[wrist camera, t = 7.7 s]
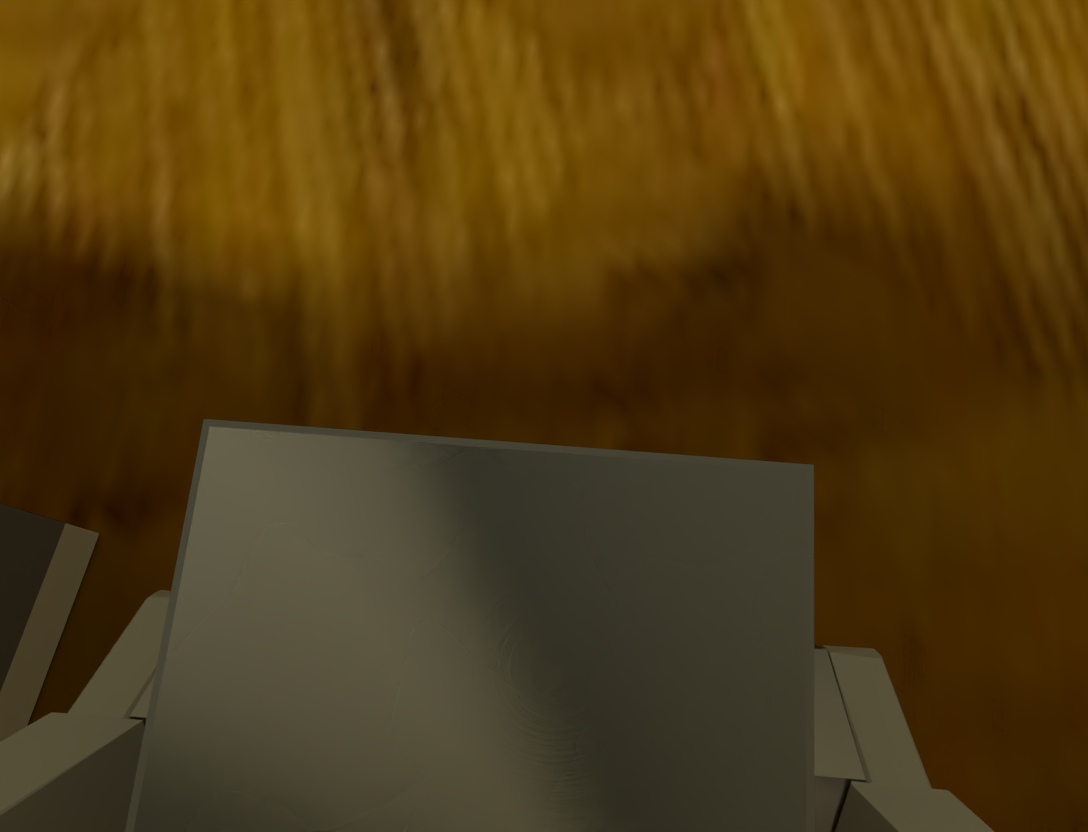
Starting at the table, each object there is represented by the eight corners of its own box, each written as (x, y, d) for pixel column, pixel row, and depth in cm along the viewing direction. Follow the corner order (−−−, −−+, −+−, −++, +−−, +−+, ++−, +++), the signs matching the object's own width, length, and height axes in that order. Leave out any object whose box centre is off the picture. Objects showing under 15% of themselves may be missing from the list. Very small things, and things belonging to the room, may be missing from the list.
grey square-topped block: (654, 876, 12) (815, 1206, 5) (364, 850, 13) (67, 1131, 5) (666, 580, 14) (814, 464, 6) (400, 559, 14) (203, 418, 6)
